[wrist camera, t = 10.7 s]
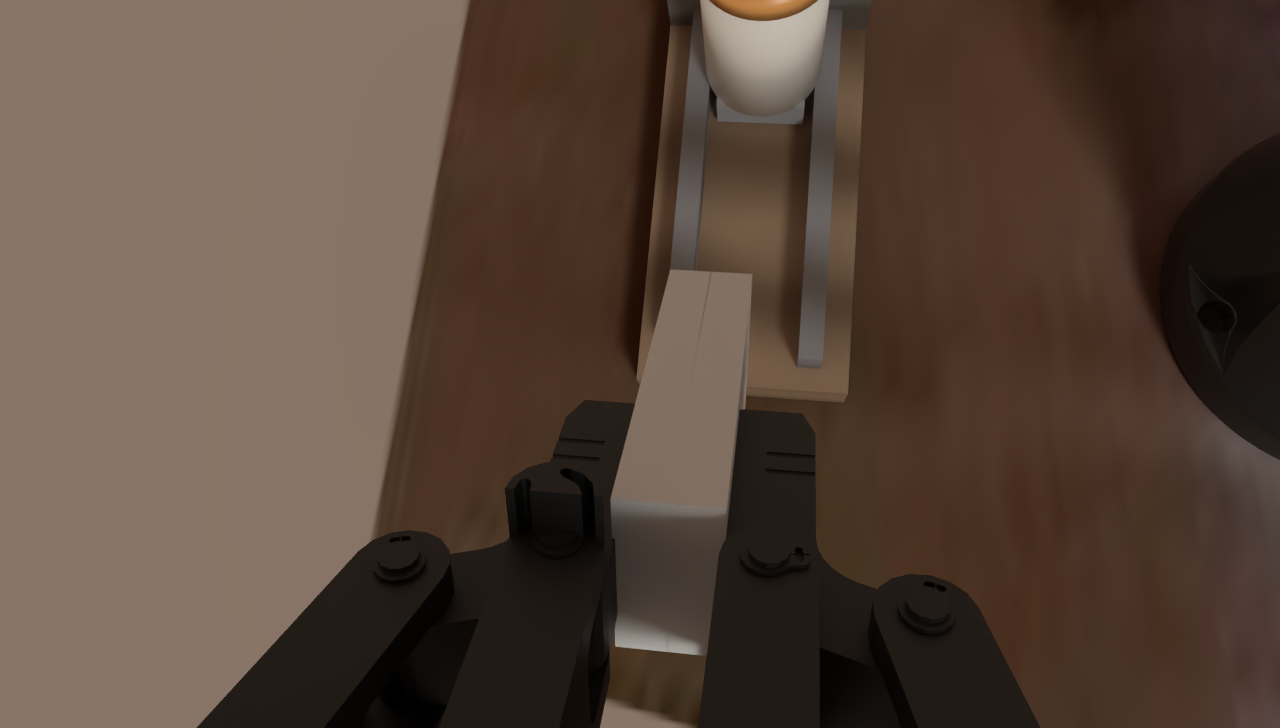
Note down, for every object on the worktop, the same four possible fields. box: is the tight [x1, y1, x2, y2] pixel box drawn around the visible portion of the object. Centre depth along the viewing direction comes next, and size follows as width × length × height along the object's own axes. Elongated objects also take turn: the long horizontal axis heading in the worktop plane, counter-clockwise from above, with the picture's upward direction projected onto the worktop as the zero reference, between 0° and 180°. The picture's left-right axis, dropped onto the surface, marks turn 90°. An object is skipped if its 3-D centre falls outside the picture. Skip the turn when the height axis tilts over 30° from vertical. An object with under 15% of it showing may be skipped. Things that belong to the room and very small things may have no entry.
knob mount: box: [636, 0, 872, 403], centre depth 45 cm, size 20×9×5 cm, turn 175°
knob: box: [700, 0, 829, 125], centre depth 41 cm, size 5×5×10 cm
